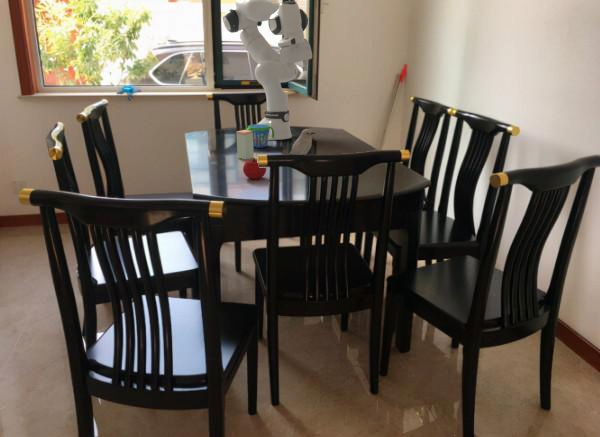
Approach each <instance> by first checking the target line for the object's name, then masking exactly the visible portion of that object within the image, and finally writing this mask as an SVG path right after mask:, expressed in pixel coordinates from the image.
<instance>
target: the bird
mask: <svg viewBox="0 0 600 437" xmlns="http://www.w3.org/2000/svg"><path fill="white" fill-rule="evenodd" d="M315 134H316V132H314V131H313V130H312V129H309V128H305V129H303V130H302V131H301V132H300V135H299V136H298V138H297V139H296V140H295V141H294V144H293V146H292V147H291V150H290V151H289V152H288V155H289V154H306V155H307V154H308V153H309V151H310V149H311V148H312V143H313V139H312V138H313V135H315Z"/></svg>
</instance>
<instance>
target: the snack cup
mask: <svg viewBox="0 0 600 437" xmlns="http://www.w3.org/2000/svg"><path fill="white" fill-rule="evenodd" d="M270 128H271V130H272V136H271V137H272V138H274V130H273V128H272V127H270V126H269V125H265V124H258V123H257V124H255V123H254V124H249V125H248V126H247V128H246V129H245V130H249V131H253V148H255V147H256V149H258V148H259V149H262V148H267V146H268V145H269V140H268V136H269V130H270Z"/></svg>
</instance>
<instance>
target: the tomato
mask: <svg viewBox="0 0 600 437" xmlns="http://www.w3.org/2000/svg"><path fill="white" fill-rule="evenodd" d="M242 172H243V174H244V176H245V177H247V178H248V179H250V180H260V179H262V178H263V177H264V176H265V174H266V172H267V167H266V168H259V167H258V163H257V158H255V157H254V158H251V159H248V160H245V163H244V164H243V168H242Z"/></svg>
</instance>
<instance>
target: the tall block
mask: <svg viewBox="0 0 600 437" xmlns="http://www.w3.org/2000/svg"><path fill="white" fill-rule="evenodd" d="M236 150H237V159H238V158H242V159H241V160H243V159H248V160H251V159H254V158H255V157H254V156H255V155H254V147H253V131H249V130H246V129H242V130H238V131H236ZM253 157H254V158H253ZM250 158H251V159H250Z"/></svg>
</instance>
